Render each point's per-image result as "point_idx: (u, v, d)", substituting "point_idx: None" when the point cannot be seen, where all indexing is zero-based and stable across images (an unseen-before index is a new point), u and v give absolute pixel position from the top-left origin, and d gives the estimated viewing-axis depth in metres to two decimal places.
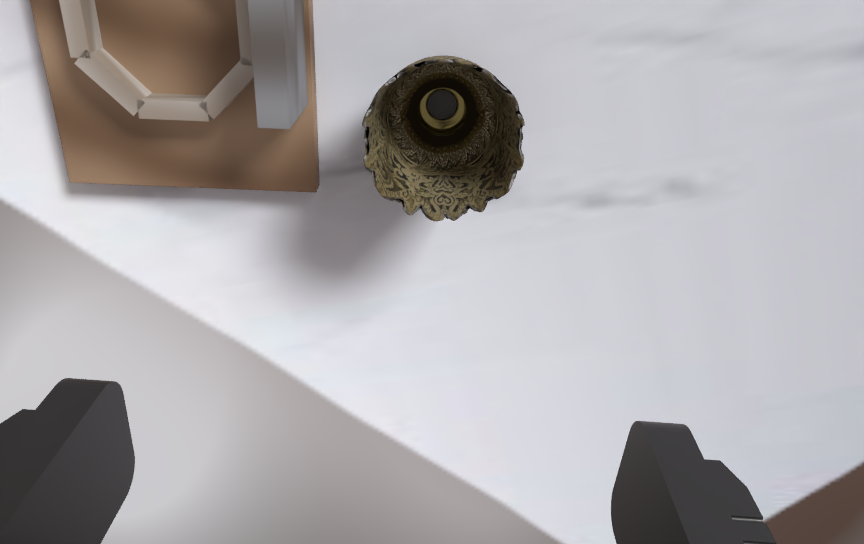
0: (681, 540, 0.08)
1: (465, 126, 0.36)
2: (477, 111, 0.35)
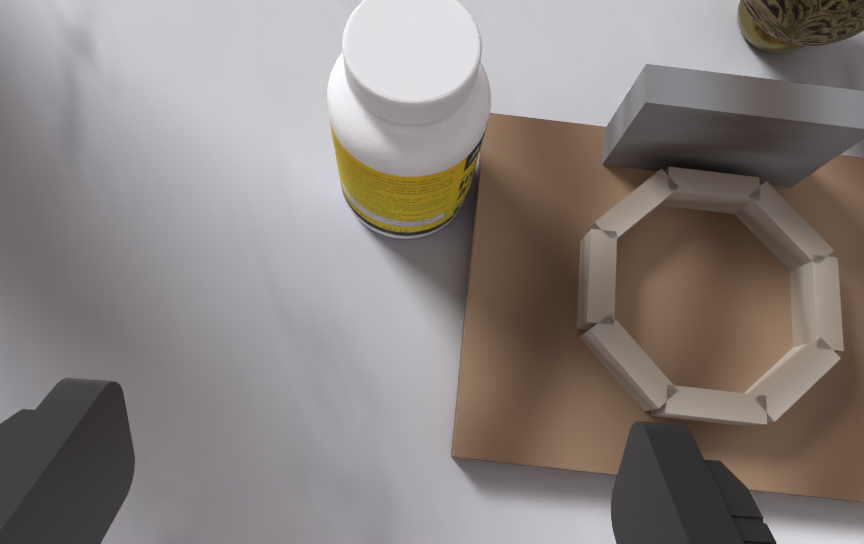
0: (681, 540, 0.08)
1: None
2: None
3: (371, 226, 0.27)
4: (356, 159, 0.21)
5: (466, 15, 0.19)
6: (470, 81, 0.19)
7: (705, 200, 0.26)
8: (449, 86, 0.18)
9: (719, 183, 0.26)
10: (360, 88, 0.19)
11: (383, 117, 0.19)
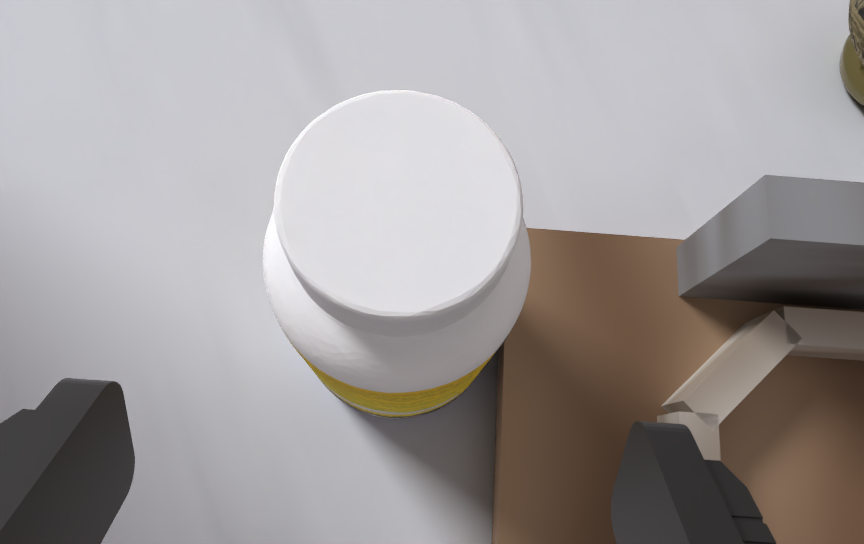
0: (681, 540, 0.08)
1: None
2: None
3: None
4: (314, 366, 0.13)
5: (492, 142, 0.11)
6: (506, 264, 0.10)
7: (838, 351, 0.18)
8: (469, 279, 0.10)
9: (860, 328, 0.17)
10: (307, 287, 0.10)
11: (353, 326, 0.11)
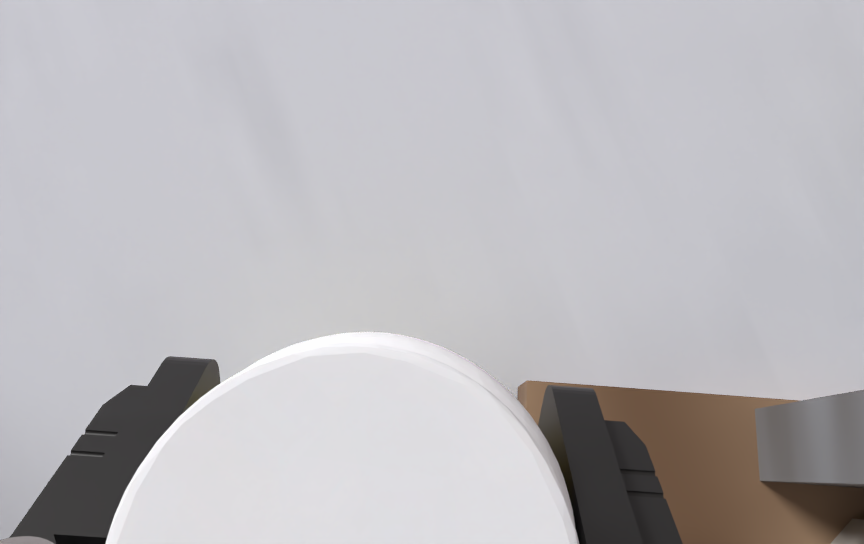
0: (570, 488, 0.09)
1: None
2: None
3: None
4: None
5: (525, 458, 0.06)
6: None
7: None
8: None
9: None
10: None
11: None
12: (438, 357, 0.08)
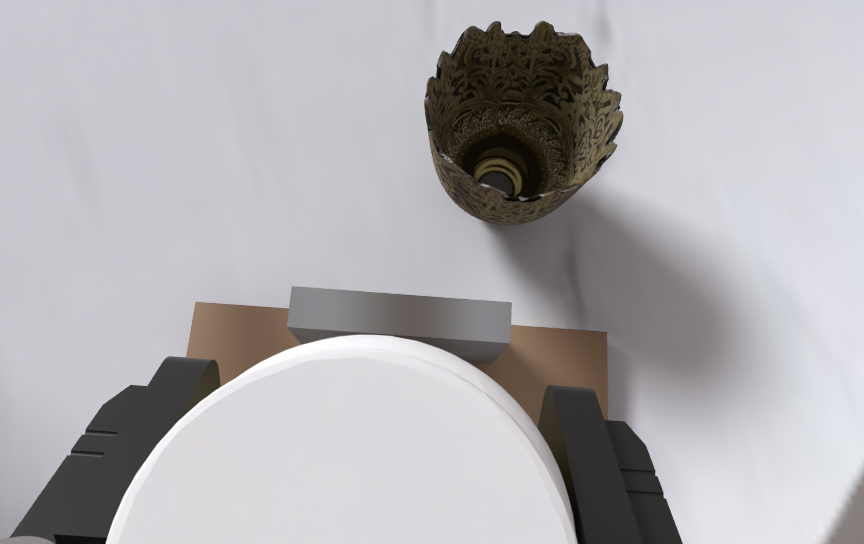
0: (570, 488, 0.09)
1: (516, 148, 0.31)
2: (499, 134, 0.31)
3: None
4: None
5: (525, 463, 0.06)
6: None
7: None
8: None
9: None
10: None
11: None
12: (438, 360, 0.08)
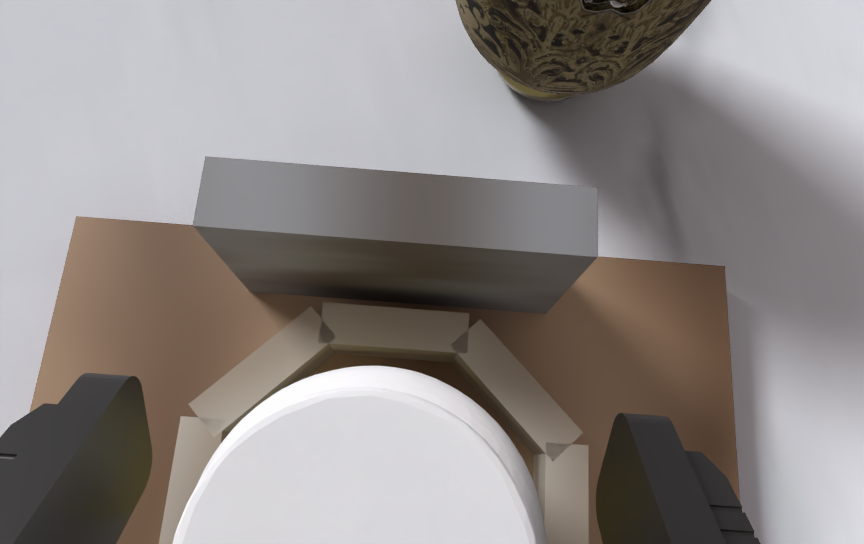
0: (659, 528, 0.08)
1: None
2: None
3: None
4: None
5: (496, 479, 0.07)
6: None
7: (389, 351, 0.16)
8: None
9: (403, 326, 0.16)
10: None
11: None
12: (431, 388, 0.10)
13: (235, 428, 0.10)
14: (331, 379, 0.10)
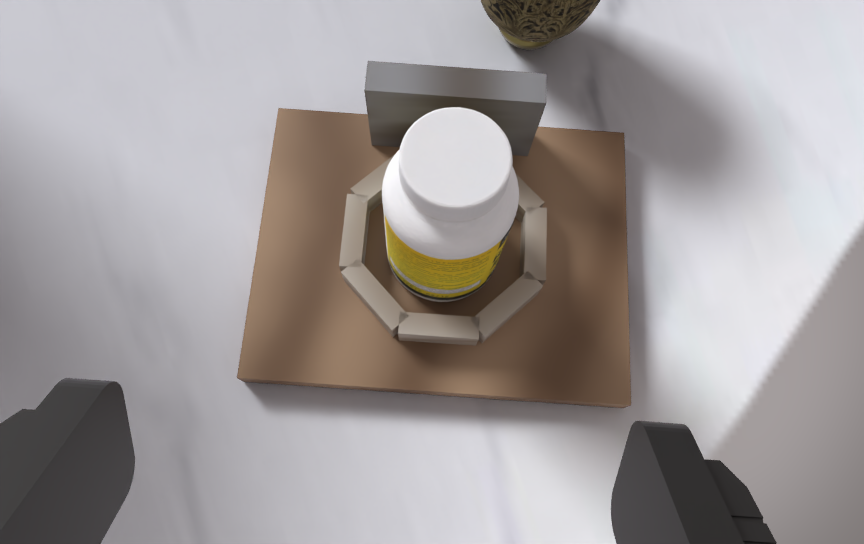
0: (681, 540, 0.08)
1: None
2: None
3: (416, 293, 0.31)
4: (408, 246, 0.25)
5: (498, 131, 0.23)
6: (504, 186, 0.23)
7: None
8: (488, 191, 0.23)
9: None
10: (415, 196, 0.23)
11: (434, 217, 0.23)
12: None
13: (400, 148, 0.26)
14: None
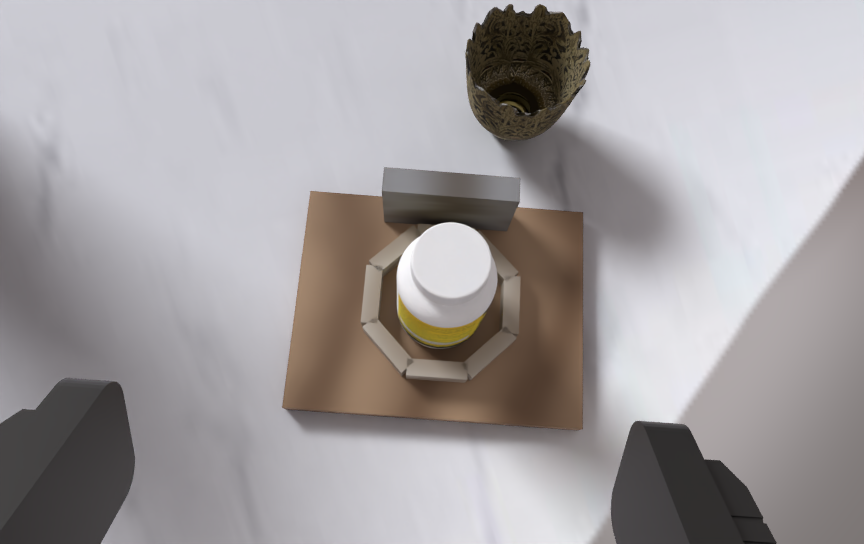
0: (681, 540, 0.08)
1: (522, 92, 0.45)
2: (510, 83, 0.45)
3: (419, 342, 0.40)
4: (416, 318, 0.35)
5: (482, 241, 0.32)
6: (486, 281, 0.32)
7: None
8: (474, 286, 0.32)
9: None
10: (422, 288, 0.32)
11: (435, 302, 0.33)
12: None
13: (410, 244, 0.35)
14: None
